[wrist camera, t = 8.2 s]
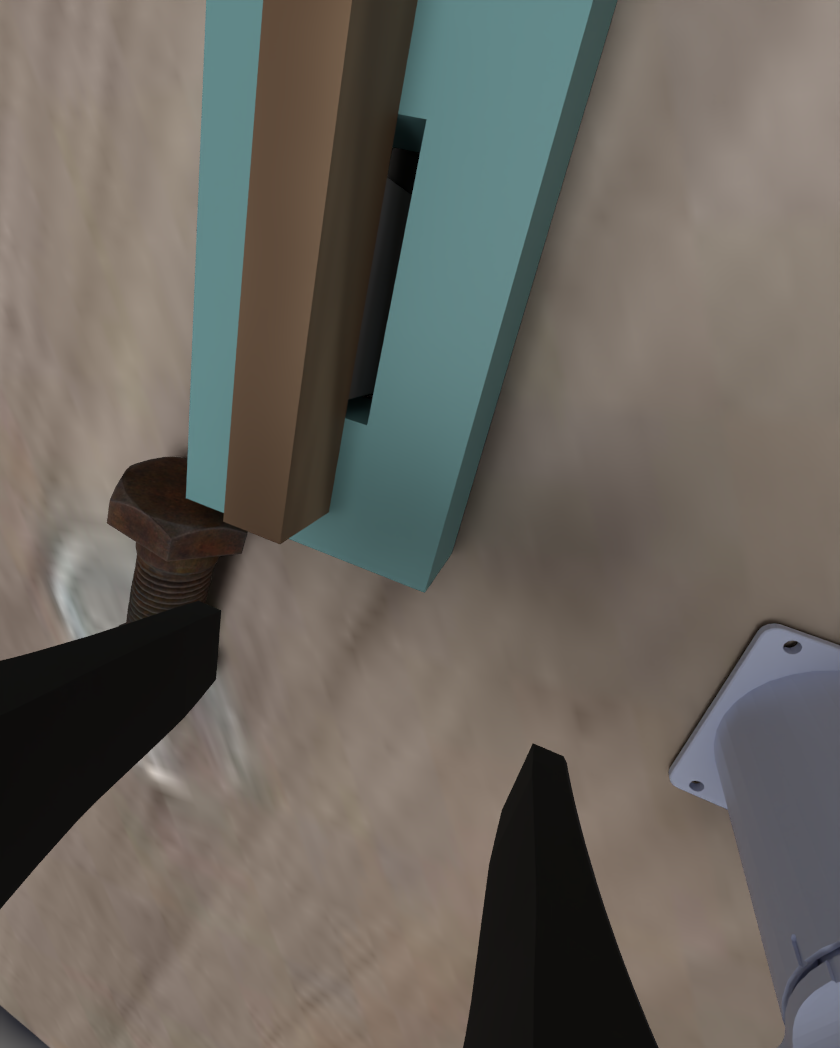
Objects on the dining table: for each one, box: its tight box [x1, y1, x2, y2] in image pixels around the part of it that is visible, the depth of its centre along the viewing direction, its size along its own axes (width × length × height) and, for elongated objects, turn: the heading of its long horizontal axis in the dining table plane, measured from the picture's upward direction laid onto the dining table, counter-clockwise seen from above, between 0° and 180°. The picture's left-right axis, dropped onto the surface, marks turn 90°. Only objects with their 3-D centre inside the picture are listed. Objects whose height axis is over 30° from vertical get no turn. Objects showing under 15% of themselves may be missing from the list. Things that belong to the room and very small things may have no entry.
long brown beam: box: [223, 0, 418, 544], centre depth 15 cm, size 2×14×6 cm, turn 166°
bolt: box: [107, 457, 247, 626], centre depth 24 cm, size 6×5×15 cm
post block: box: [186, 0, 617, 593], centre depth 16 cm, size 10×18×4 cm, turn 166°
